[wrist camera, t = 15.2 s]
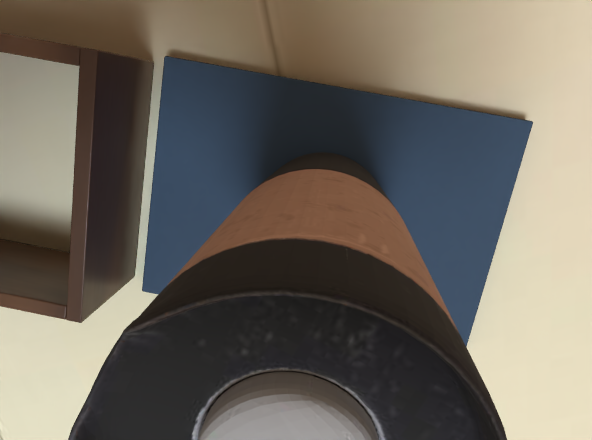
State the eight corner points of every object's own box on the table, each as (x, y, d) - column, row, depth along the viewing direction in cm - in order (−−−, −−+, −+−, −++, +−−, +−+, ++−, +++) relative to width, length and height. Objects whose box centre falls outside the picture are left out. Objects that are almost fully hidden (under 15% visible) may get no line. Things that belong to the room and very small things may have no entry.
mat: (147, 285, 30) (141, 291, 29) (170, 57, 27) (164, 55, 26) (460, 347, 29) (464, 355, 28) (526, 120, 26) (534, 121, 25)
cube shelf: (-63, 237, 31) (-166, 272, 24) (-68, 22, 27) (-189, -2, 21) (134, 276, 30) (81, 323, 24) (154, 61, 27) (97, 50, 21)
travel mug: (402, 261, 27) (557, 650, 8) (275, 288, 28) (142, 689, 9) (373, 131, 26) (482, 227, 6) (240, 165, 27) (-14, 335, 7)
